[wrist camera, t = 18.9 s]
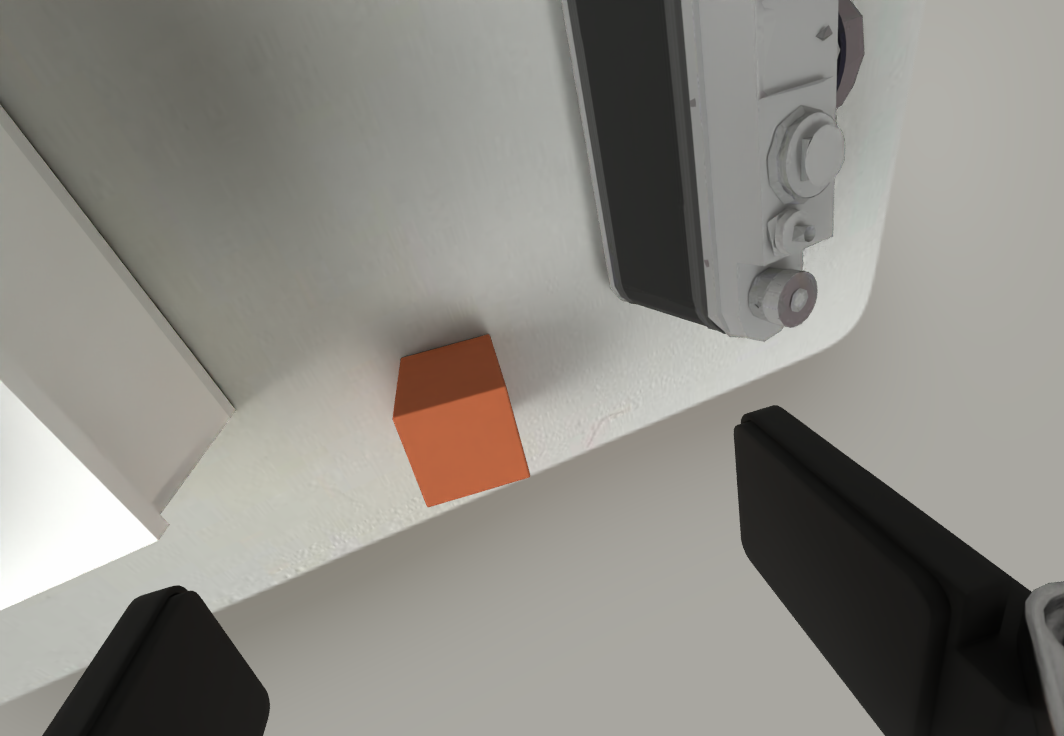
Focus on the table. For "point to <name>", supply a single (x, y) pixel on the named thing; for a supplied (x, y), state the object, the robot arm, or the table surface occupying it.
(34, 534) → the butter dish
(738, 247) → the camera
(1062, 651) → the robot arm
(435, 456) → the pad
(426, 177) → the table surface
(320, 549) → the table surface
